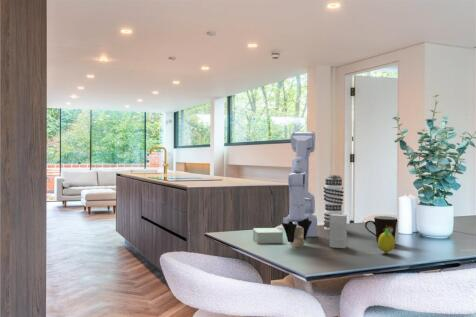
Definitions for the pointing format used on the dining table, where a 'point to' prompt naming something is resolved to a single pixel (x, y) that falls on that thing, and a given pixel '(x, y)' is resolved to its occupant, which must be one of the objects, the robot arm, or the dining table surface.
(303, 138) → the robot arm
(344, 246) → the skincare box
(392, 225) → the coffee mug
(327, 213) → the decorative candle
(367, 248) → the dining table surface
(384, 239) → the lemon
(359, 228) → the dining table surface
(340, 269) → the dining table surface
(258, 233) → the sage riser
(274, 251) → the dining table surface
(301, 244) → the maple block
